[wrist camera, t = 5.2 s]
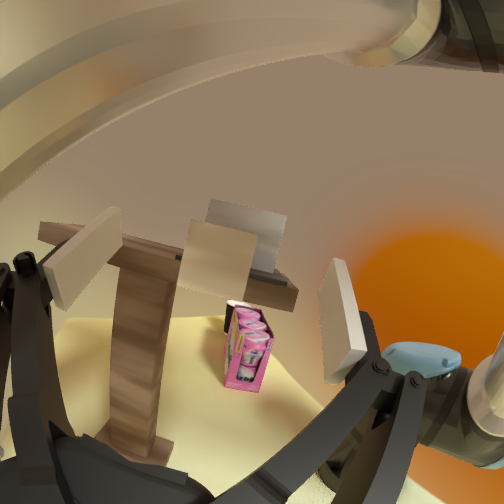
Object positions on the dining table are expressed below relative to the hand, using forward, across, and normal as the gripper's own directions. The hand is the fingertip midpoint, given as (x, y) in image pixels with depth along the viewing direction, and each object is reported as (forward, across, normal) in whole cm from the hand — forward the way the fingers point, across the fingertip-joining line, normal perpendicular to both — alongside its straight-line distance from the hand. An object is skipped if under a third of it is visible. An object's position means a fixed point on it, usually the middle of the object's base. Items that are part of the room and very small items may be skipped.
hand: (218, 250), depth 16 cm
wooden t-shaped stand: (-4, -8, -32) cm, 34 cm away
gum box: (+25, +6, -50) cm, 56 cm away
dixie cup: (+44, +2, -61) cm, 75 cm away
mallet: (+5, +1, -5) cm, 7 cm away
